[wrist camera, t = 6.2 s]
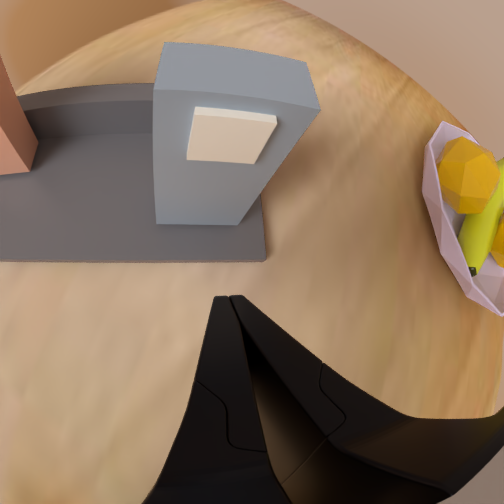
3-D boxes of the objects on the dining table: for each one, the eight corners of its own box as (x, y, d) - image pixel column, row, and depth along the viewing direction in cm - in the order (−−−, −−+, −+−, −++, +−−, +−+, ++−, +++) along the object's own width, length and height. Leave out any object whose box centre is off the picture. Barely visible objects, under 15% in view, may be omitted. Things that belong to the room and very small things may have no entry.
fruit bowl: (454, 361, 27) (531, 356, 16) (362, 154, 30) (428, 96, 19) (512, 265, 37) (558, 250, 26) (452, 133, 40) (492, 103, 29)
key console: (263, 261, 23) (287, 244, 18) (-42, 260, 15) (-74, 245, 10) (251, 128, 26) (267, 93, 21) (-11, 136, 18) (-29, 108, 13)
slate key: (238, 230, 22) (322, 117, 10) (156, 229, 20) (151, 97, 8) (235, 189, 22) (306, 62, 10) (158, 186, 21) (164, 42, 9)
